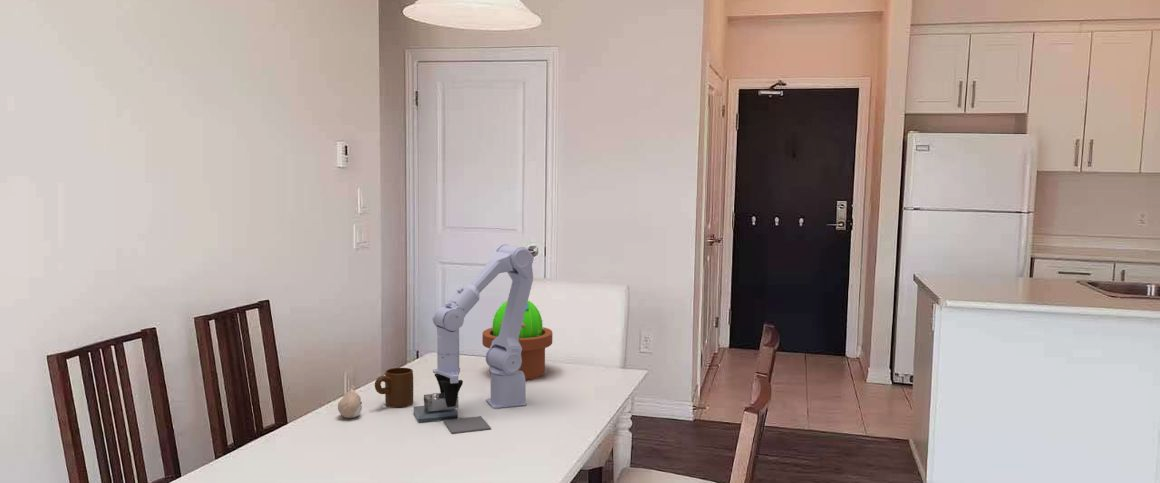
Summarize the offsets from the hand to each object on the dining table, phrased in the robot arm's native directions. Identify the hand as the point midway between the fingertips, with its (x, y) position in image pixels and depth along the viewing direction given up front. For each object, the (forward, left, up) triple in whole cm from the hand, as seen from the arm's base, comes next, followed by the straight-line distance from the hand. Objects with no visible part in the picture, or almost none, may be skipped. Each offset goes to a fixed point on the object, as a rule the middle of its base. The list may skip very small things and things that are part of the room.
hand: (448, 403), depth 209 cm
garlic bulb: (+25, -7, -3) cm, 26 cm away
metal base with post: (+4, 0, -3) cm, 5 cm away
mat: (-2, +10, -3) cm, 11 cm away
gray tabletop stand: (+2, 0, -1) cm, 2 cm away
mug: (+13, -13, -3) cm, 18 cm away
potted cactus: (-29, -34, -3) cm, 45 cm away
